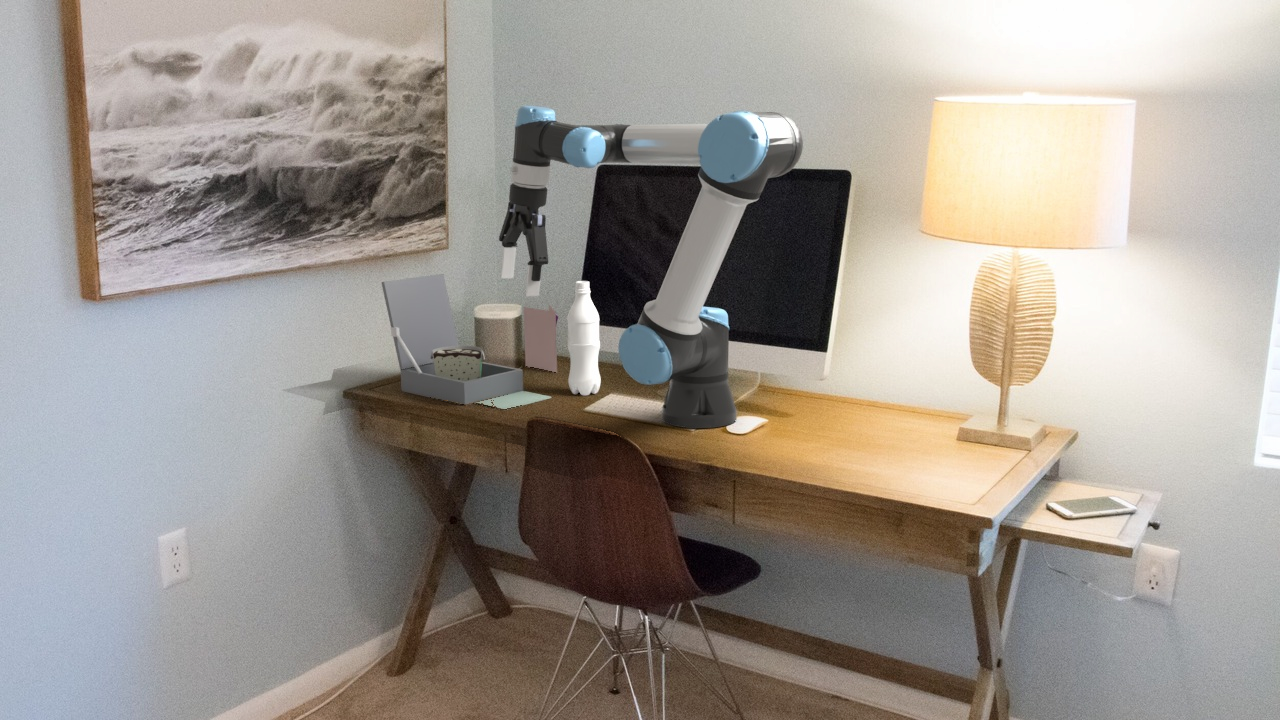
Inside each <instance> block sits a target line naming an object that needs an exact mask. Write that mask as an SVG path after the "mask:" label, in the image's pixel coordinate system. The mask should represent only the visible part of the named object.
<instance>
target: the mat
mask: <svg viewBox="0 0 1280 720" xmlns="http://www.w3.org/2000/svg"><path fill="white" fill-rule="evenodd" d="M548 399H552V396H550V395H545V394H541V393H537V392H536V393H535V392H530V391H526V390H523V391H520V392H516V393H512V394H508V395H504V396H500V397H496V398H492V399H488V400H484V401H480V402H475V403H474V404H476V403H480V404H481V403H483V404H484V405H488V406H492V405H493V404H494V405H493V407H494V406H496V407H497V408H501V409H507V408H511V407H515V408H517V407H516V406H519V407H521V406H520V405H522V406H525V405H530V404H533V403H537V402H541V401H542V402H543V401H546V400H548ZM491 400H492V401H491ZM493 400H494V401H493ZM491 402H493V404H492V403H491ZM511 409H512V408H511ZM507 410H508V409H507Z"/></svg>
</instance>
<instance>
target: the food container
mask: <svg viewBox="0 0 1280 720" xmlns="http://www.w3.org/2000/svg"><path fill="white" fill-rule="evenodd" d="M430 359H433V363H434V369H435V375H436V376H441V377H446V378H451V379H455V380H460V381H469V380H473V379H478V378H481V370H482V362H483V360H484V361H485V360H486V357H485V352H484V351H483V348H482V347H479V346H474V345H473V346H472V345H459V346H448V347H441V348H437V349H434V350H432V353H431V357H430Z"/></svg>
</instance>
